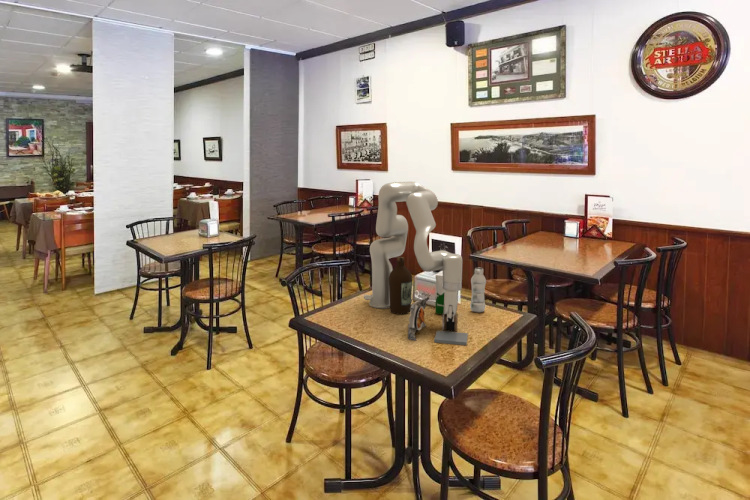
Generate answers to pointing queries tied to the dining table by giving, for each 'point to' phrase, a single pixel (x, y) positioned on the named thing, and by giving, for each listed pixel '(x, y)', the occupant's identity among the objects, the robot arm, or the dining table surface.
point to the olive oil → (400, 288)
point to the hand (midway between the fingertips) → (450, 328)
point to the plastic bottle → (478, 291)
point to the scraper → (444, 319)
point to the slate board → (451, 337)
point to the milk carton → (439, 294)
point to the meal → (416, 318)
